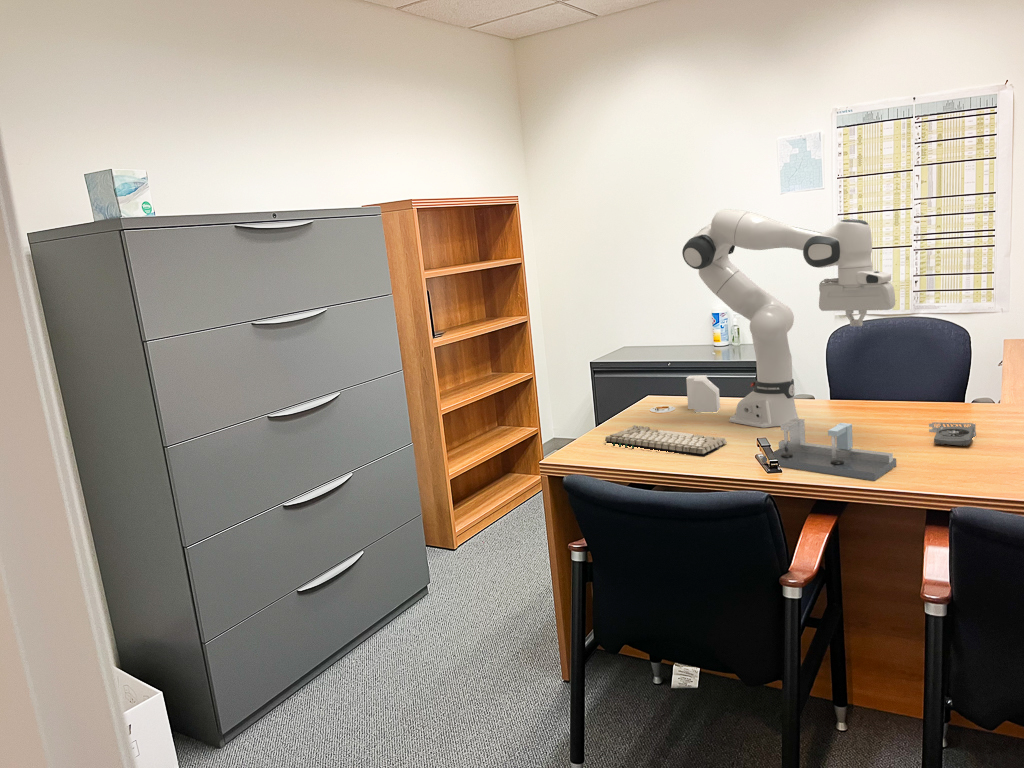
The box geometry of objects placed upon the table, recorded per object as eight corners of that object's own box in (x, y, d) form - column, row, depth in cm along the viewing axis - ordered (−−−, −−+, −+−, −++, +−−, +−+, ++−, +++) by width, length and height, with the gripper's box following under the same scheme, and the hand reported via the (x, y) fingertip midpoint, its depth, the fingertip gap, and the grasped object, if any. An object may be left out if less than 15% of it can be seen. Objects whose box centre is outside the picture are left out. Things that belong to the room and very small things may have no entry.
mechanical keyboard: (733, 443, 232) (732, 433, 232) (703, 460, 219) (702, 449, 218) (631, 433, 258) (630, 423, 258) (599, 447, 245) (598, 437, 244)
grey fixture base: (762, 464, 208) (761, 426, 206) (787, 451, 217) (785, 415, 215) (874, 480, 186) (873, 439, 184) (896, 465, 195) (895, 426, 193)
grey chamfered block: (690, 406, 285) (688, 375, 283) (721, 406, 280) (719, 374, 278) (685, 413, 275) (683, 381, 273) (717, 413, 271) (715, 380, 269)
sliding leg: (827, 458, 197) (826, 430, 196) (841, 450, 203) (840, 422, 201) (838, 460, 195) (838, 431, 194) (852, 451, 201) (852, 423, 199)
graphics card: (929, 421, 222) (976, 422, 215) (929, 433, 222) (977, 434, 215) (921, 436, 208) (972, 438, 201) (922, 449, 209) (972, 451, 202)
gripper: (814, 280, 216) (815, 327, 219) (888, 276, 201) (889, 327, 204) (823, 277, 220) (825, 324, 223) (897, 274, 205) (897, 324, 208)
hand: (856, 326), depth 213 cm, fingers closed
